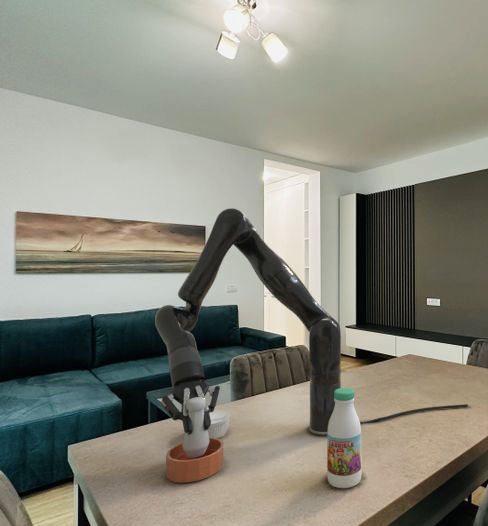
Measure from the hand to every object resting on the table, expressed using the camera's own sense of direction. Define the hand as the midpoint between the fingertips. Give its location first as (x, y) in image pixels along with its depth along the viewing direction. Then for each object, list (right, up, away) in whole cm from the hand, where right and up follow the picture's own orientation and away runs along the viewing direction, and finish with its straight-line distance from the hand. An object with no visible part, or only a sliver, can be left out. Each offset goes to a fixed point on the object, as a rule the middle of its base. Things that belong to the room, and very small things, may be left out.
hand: (198, 430), depth 88 cm
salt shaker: (-1, -6, +1) cm, 7 cm away
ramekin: (-6, -11, +20) cm, 24 cm away
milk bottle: (+35, -10, -3) cm, 36 cm away
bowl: (-1, -10, +1) cm, 10 cm away
